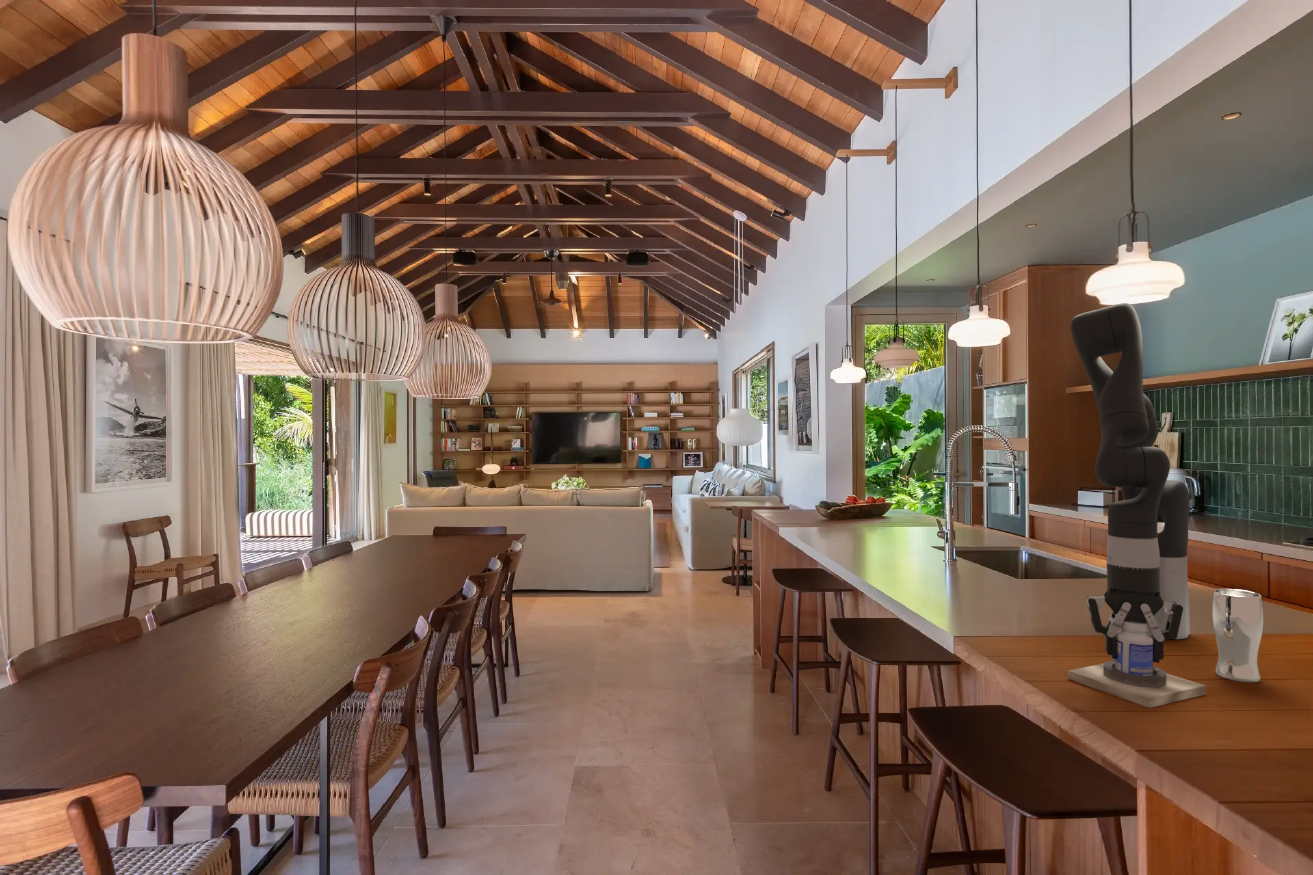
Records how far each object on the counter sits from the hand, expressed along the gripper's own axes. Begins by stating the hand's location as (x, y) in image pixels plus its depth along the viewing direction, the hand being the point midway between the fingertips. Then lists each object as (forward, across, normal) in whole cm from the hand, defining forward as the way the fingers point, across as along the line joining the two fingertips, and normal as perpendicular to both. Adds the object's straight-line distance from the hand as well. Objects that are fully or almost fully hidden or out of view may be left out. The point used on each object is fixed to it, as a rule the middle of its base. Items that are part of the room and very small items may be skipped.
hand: (1133, 658), depth 118 cm
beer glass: (+5, -18, -12) cm, 22 cm away
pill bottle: (+3, 0, 0) cm, 3 cm away
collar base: (+5, 0, 0) cm, 5 cm away
